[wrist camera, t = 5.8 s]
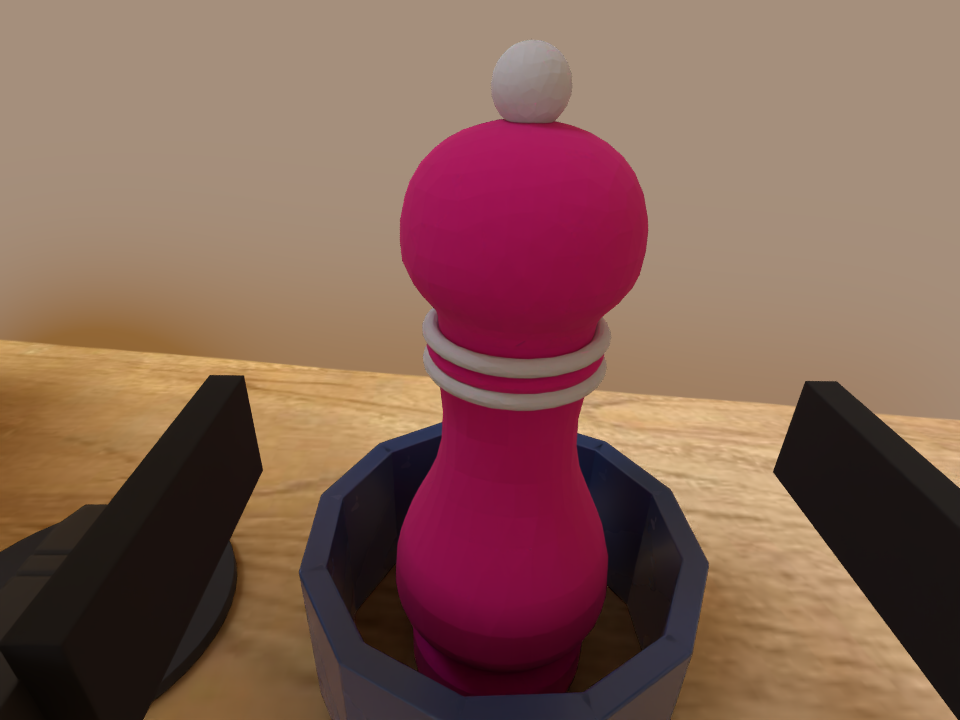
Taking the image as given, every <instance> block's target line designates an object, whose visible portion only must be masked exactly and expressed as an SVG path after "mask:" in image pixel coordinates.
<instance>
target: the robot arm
mask: <svg viewBox="0 0 960 720" xmlns="http://www.w3.org/2000/svg"><path fill="white" fill-rule="evenodd" d="M262 471H263V468H262V463H261V458H260V453H259V448H258V443H257V438H256V433H255V428H254V423H253V418H252V413H251V408H250V403H249V398H248V393H247V388H246V383H245V378H244V376H236V375H210V376H209V377H208V378H207V379H206V381H205V382H204V383H203V384H202V386H201V387H200V388H199V390H198V391H197V392H196V393H195V395H194V396H193V397H192V398H191V400H190V401H189V402H188V403H187V405H186V406H185V407H184V409H183V410H182V411H181V412H180V414H179V415H178V416H177V417H176V419H175V420H174V421H173V423H172V424H171V425H170V426H169V428H168V429H167V430H166V431H165V433H164V434H163V435H162V436H161V438H160V439H159V440H158V442H157V443H156V444H155V445H154V447H153V448H152V449H151V450H150V452H149V453H148V454H147V455H146V457H145V458H144V459H143V461H142V462H141V463H140V464H139V466H138V467H137V468H136V469H135V471H134V472H133V473H132V475H131V476H130V477H129V478H128V480H127V481H126V482H125V483H124V485H123V486H122V487H121V488H120V490H119V491H118V492H117V494H116V495H115V496H114V497H113V499H112V500H111V501H110V502H109V504H108V505H84V506H83V507H81V508H80V509H79V510H77V511H76V512H74V513H73V514H71V515H70V516H69V517H67V518H66V519H64V520H63V521H62V522H60V523H59V524H57V525H56V526H55V527H54V528H53V529H52V530H51V532H50V533H49V534H48V535H47V536H46V537H45V539H44V540H43V541H42V542H41V543H40V544H39V545H38V547H37V548H36V549H35V550H34V555H30V556H29V557H28V558H27V559H26V561H25V562H24V563H23V564H22V565H21V566H20V567H19V569H18V570H17V571H16V572H17V573H16V576H14V577H11V578H10V579H9V580H8V581H7V583H6V584H5V585H4V586H3V587H2V588H1V589H0V720H143V719H144V717H145V715H146V713H147V711H148V709H149V707H150V705H151V703H152V700H153V698H154V696H155V694H156V692H157V690H158V688H159V686H160V684H161V682H162V680H163V677H164V675H165V673H166V671H167V669H168V667H169V665H170V663H171V661H172V659H173V657H174V655H175V652H176V650H177V648H178V646H179V644H180V642H181V640H182V638H183V636H184V634H185V632H186V630H187V627H188V625H189V623H190V621H191V619H192V617H193V615H194V613H195V611H196V609H197V607H198V605H199V602H200V600H201V598H202V596H203V594H204V592H205V590H206V588H207V586H208V584H209V582H210V580H211V577H212V575H213V573H214V571H215V569H216V567H217V565H218V563H219V561H220V559H221V557H222V554H223V552H224V550H225V548H226V546H227V544H228V542H229V540H230V538H231V536H232V534H233V532H234V529H235V527H236V525H237V523H238V521H239V519H240V517H241V515H242V513H243V511H244V509H245V507H246V504H247V502H248V500H249V498H250V496H251V494H252V492H253V490H254V488H255V486H256V484H257V482H258V479H259V477H260V475H261V473H262ZM773 473H774V474H775V475H776V477H777V478H778V479H779V481H780V482H781V483H782V485H783V486H784V487H785V489H786V490H787V491H788V493H789V494H790V495H791V497H792V498H793V500H794V501H795V502H796V504H797V505H798V506H799V508H800V509H801V510H802V512H803V513H804V514H805V516H806V517H807V518H808V520H809V521H810V522H811V524H812V525H813V526H814V528H815V529H816V530H817V532H818V533H819V534H820V536H821V537H822V538H823V540H824V541H825V542H826V544H827V545H828V546H829V548H830V549H831V550H832V552H833V553H834V554H835V556H836V557H837V558H838V560H839V561H840V562H841V564H842V565H843V566H844V568H845V569H846V570H847V572H848V573H849V574H850V576H851V577H852V578H853V580H854V581H855V582H856V584H857V585H858V586H859V588H860V589H861V590H862V592H863V593H864V595H865V596H866V597H867V599H868V600H869V601H870V603H871V604H872V605H873V607H874V608H875V609H876V611H877V612H878V613H879V615H880V616H881V617H882V619H883V620H884V621H885V623H886V624H887V625H888V627H889V628H890V629H891V631H892V632H893V633H894V635H895V636H896V637H897V639H898V640H899V641H900V643H901V644H902V645H903V647H904V648H905V649H906V651H907V652H908V653H909V655H910V656H911V657H912V659H913V660H914V661H915V663H916V664H917V665H918V667H919V668H920V669H921V671H922V672H923V673H924V675H925V676H926V677H927V679H928V680H929V681H930V683H931V684H932V685H933V687H934V688H935V690H936V691H937V692H938V694H939V695H940V696H941V698H942V699H943V700H944V702H945V703H946V704H947V706H948V707H949V708H950V710H951V711H952V712H953V714H954V715H955V716H956V718H957V719H958V720H960V488H959V487H958V486H956V485H955V484H954V483H953V482H952V481H951V480H950V479H948V478H947V477H946V476H945V475H944V474H943V473H942V472H940V471H939V470H938V469H937V468H936V467H935V466H933V465H932V464H931V463H930V462H929V461H928V460H927V459H925V458H924V457H923V456H922V455H921V454H920V453H918V452H917V451H916V450H915V449H914V448H913V447H912V446H910V445H909V444H908V443H907V442H906V441H905V440H904V439H902V438H901V437H900V436H899V435H898V434H897V433H895V432H894V431H893V430H892V429H891V428H890V427H889V426H887V425H886V424H885V423H884V422H883V421H882V420H881V419H879V418H878V417H877V416H876V415H875V414H874V413H872V412H871V411H870V410H869V409H868V408H867V407H866V406H864V405H863V404H862V403H861V402H860V401H859V400H857V399H856V398H855V397H854V396H853V395H852V394H851V393H849V392H848V391H847V390H846V389H845V388H844V387H843V386H841V385H840V384H839V383H838V382H836V381H835V382H834V381H805V384H804V387H803V389H802V392H801V395H800V398H799V400H798V403H797V406H796V409H795V412H794V414H793V417H792V420H791V423H790V426H789V428H788V431H787V434H786V437H785V440H784V442H783V445H782V448H781V451H780V454H779V456H778V459H777V462H776V465H775V468H774V471H773Z"/></svg>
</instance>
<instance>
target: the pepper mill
mask: <svg viewBox="0 0 960 720" xmlns="http://www.w3.org/2000/svg"><path fill="white" fill-rule="evenodd" d="M491 88H492V89H491V90H492V98H493V101H494V104H495V107H496V108H497V110H498V112H499V113H500V115H501V116H502V117H503V118H504V119H499V120H495V121H490V122H486V123H482V124H479V125H476V126H473V127H469V128H467V129H463V130H461V131H460V132H457V133H456V134H454V135H452V136H450V137H448V138H447V139H445V140H444V141H443V142H441V143H440V144H439V145H437V146H436V147H435V148H434V149H433V150H432V151H431V152H430V153H429V154H428V155H427V156H426V157H425V158H424V159H423V161H421V163H420V164H419V166H418V168H417V170H416V171H415V173H414V175H413V176H412V178H411V180H410V182H409V185H408V188H407V191H406V194H405V198H404V203H403V208H402V213H401V218H400V246H401V254H402V261H403V263H404V265H405V267H406V269H407V271H408V274H409V276H410V278H411V280H412V282H413V284H414V285H415V286H416V288H417V289H418V291H419V292H420V293H421V295H422V296H423V297H424V298H425V299H426V300H427V301H428V302H429V303H430V304H431V306H433V308H432V309H431V310H430V311H429V312H428V314H427V315H426V317H425V319H424V322H423V335H424V338H425V340H426V342H427V345H426V347H425V351H424V354H423V360H424V366H425V370H426V372H427V373H428V374H429V376H430V377H431V378H432V380H433V381H434V382H435V383H436V384H437V385H438V386H439V387H440V390H441V398H442V407H443V421H442V439H441V442H440V446H439V450H438V454H437V457H436V459H435V461H434V463H433V465H432V467H431V469H430V471H429V472H428V474H427V476H426V477H425V479H424V480H423V482H422V484H421V485H420V487H419V489H418V491H417V492H416V494H415V496H414V498H413V500H412V502H411V505H410V507H409V509H408V512H407V514H406V517H405V519H404V522H403V525H402V528H401V531H400V536H399V540H398V544H397V559H396V584H397V589H398V594H399V598H400V601H401V604H402V607H403V609H404V611H405V613H406V615H407V617H408V619H409V621H410V622H411V624H412V625H413V641H414V655H415V660H416V665H417V668H418V671H419V672H420V673H421V674H423V675H425V676H427V677H429V678H431V679H433V680H434V681H436V682H438V683H440V684H442V685H444V686H445V687H447V688H449V689H451V690H453V691H455V692H457V693H458V694H460V695H462V696H486V695H515V694H545V693H566V692H567V690H568V688H569V686H570V685H571V683H572V681H573V678H574V676H575V673H576V670H577V666H578V661H579V656H580V650H581V644H582V641H583V640H584V638H585V637H586V636H587V635H588V633H589V632H590V631H591V630H592V629H593V627H594V626H595V624H596V621H597V619H598V617H599V615H600V613H601V611H602V607H603V604H604V601H605V598H606V587H607V571H608V553H607V548H606V542H605V537H604V532H603V526H602V523H601V520H600V517H599V514H598V512H597V509H596V506H595V504H594V502H593V499H592V497H591V494H590V492H589V489H588V487H587V484H586V482H585V480H584V477H583V475H582V472H581V469H580V466H579V460H578V453H577V446H576V445H577V430H578V418H579V414H580V411H581V407H582V403H583V400H584V397H585V396H587V395H589V394H590V393H591V392H592V391H594V390H595V389H596V388H597V387H598V386H599V384H600V383H601V382H602V380H603V378H604V376H605V373H606V361H605V358H604V353H605V352H606V350H607V349H608V347H609V344H610V340H611V332H610V330H609V327H608V325H607V322H606V321H605V320H604V319H603V316H604V315H605V314H606V313H607V312H609V311H610V310H611V309H612V308H614V307H615V306H616V305H617V304H619V302H620V301H621V300H622V299H623V298H624V297H625V296H626V295H627V293H628V292H629V291H630V290H631V289H632V288H633V286H634V284H635V282H636V280H637V279H638V276H639V275H640V271H641V267H642V264H643V260H644V256H645V252H646V245H647V237H648V217H647V211H646V206H645V199H644V194H643V191H642V189H641V187H640V184H639V182H638V179H637V177H636V174H635V172H634V171H633V170H632V168H631V167H630V165H629V164H628V163H627V161H626V160H625V159H624V157H623V156H622V155H621V154H620V153H618V152H617V151H616V150H615V149H614V148H613V147H612V146H611V145H609V144H608V143H607V142H605V141H604V140H602V139H600V138H599V137H597V136H595V135H594V134H592V133H590V132H588V131H585V130H582V129H580V128H577V127H575V126H572V125H568V124H564V123H560V122H555V120H556V119H557V118H558V117H559V116H560V114H561V113H562V112H563V111H564V109H565V108H566V106H567V104H568V101H569V99H570V96H571V92H572V76H571V71H570V68H569V65H568V62H567V61H566V59H565V58H564V56H563V55H562V53H561V52H560V51H559V50H558V49H557V48H555V47H554V46H553V45H551V44H550V43H547V42H544V41H540V40H526V41H522V42H519V43H517V44H515V45H513V46H512V47H510V48H509V49H508V50H507V51H505V53H504V54H503V55H502V56H501V58H500V59H499V60H498V62H497V64H496V67H495V69H494V71H493V76H492V82H491Z"/></svg>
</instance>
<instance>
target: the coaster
mask: <svg viewBox="0 0 960 720" xmlns="http://www.w3.org/2000/svg"><path fill="white" fill-rule="evenodd" d="M57 524H59V523H57ZM57 524H55V525H52V526H50V527H48V528H46V529H43V530H41V531H39V532H37V533H35V534H33V535H31V536H29V537H27V538H25V539H23V540H21V541H19V542H17V543H15V544H14V545H12V546H10V547H8V548H7V549H5V550H3V551H2V552H0V589H1V588H2V587H3V586H4V585H5V584H6V583H7V581H8V580H9V579H10V578H11V577H14V576H16V573H17V572H16V571H17V570H18V569H19V567H20V566H21V565H22V564H23V563H24V562H25V561H26V559H27V558H28V557H29V556H30V555H34V550H35V549H36V548H37V547H38V545H39V544H40V543H41V542H42V541H43V540H44V539H45V537H46V536H47V535H48V534H49V533H50V532H51V530H52V529H53V528H54V527H55V526H56V525H57ZM236 580H237V567H236V560H235V557H234V553H233V549H232V545H231V543H230V541H229V542H228V544H227V546H226V548H225V550H224V552H223V554H222V557H221V559H220V561H219V563H218V565H217V567H216V569H215V571H214V573H213V575H212V577H211V580H210V582H209V584H208V586H207V588H206V590H205V592H204V594H203V596H202V598H201V600H200V602H199V605H198V607H197V609H196V611H195V613H194V615H193V617H192V619H191V621H190V623H189V625H188V627H187V630H186V632H185V634H184V636H183V638H182V640H181V642H180V644H179V646H178V648H177V650H176V652H175V655H174V657H173V659H172V661H171V663H170V665H169V667H168V669H167V671H166V673H165V675H164V677H163V680H162V682H161V684H160V686H159V688H158V690H157V692H156V694H155V696H154V698H153V700H152V701H154V700H155V699H156V698H157V697H159V696H160V695H161V694H163V693H164V692H165V691H166V690H167V689H169V688H170V687H171V686H172V685H173V684H174V683H175V682H176V681H177V680H178V679H179V678H180V677H181V676H183V675H184V674H185V673H186V672H187V671H188V669H189V668H190V667H191V666H192V665H193V664H194V663H195V662H196V661H197V659H198V658H199V657H200V656H201V655H202V654H203V652H204V651H205V650H206V648H207V647H208V645H209V644H210V643H211V641H212V640H213V639H214V637H215V636H216V634H217V632H218V630H219V629H220V627H221V625H222V624H223V622H224V620H225V618H226V615H227V613H228V611H229V609H230V606H231V603H232V600H233V596H234V593H235V589H236Z"/></svg>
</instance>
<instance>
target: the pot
mask: <svg viewBox="0 0 960 720" xmlns="http://www.w3.org/2000/svg"><path fill="white" fill-rule="evenodd" d="M441 439H442V422H441V423H439V424H436V425H433V426H430V427H427V428H424V429H421V430H418V431H415V432H412V433H409V434H406V435H403V436H400V437H397V438H394V439H391V440H388V441H385V442H382V443H379V444H378V445H377V446H376V447H375V448H373V449H372V450H371V451H370V452H369V453H368V454H367V455H366V456H364V457H363V458H362V459H361V460H360V461H359V462H358V463H357V464H355V465H354V466H353V467H352V468H351V469H350V470H349V471H348V472H346V473H345V474H344V475H343V476H342V477H341V478H340V479H339V480H337V481H336V482H335V483H334V484H333V485H332V486H331V487H330V488H328V489H327V490H326V491H325V492H324V493H323V494H322V495H321V497H320V501H319V504H318V508H317V511H316V514H315V518H314V521H313V525H312V528H311V532H310V535H309V539H308V542H307V546H306V549H305V552H304V556H303V559H302V563H301V566H300V570H299V576H300V581H301V587H302V592H303V598H304V603H305V609H306V614H307V620H308V625H309V631H310V636H311V642H312V647H313V653H314V658H315V664H316V669H317V675H318V680H319V686H320V691H321V694H322V697H323V699H324V702H325V704H326V707H327V709H328V712H329V714H330V717H331V720H670V719H671V716H672V713H673V710H674V707H675V704H676V701H677V699H678V696H679V693H680V690H681V687H682V684H683V681H684V678H685V675H686V672H687V669H688V666H689V663H690V660H691V657H692V654H693V649H694V643H695V638H696V633H697V628H698V622H699V617H700V612H701V606H702V601H703V596H704V590H705V585H706V580H707V574H708V569H709V563H708V561H707V559H706V557H705V555H704V553H703V551H702V549H701V547H700V545H699V543H698V541H697V539H696V537H695V535H694V534H693V532H692V530H691V528H690V526H689V524H688V522H687V520H686V518H685V516H684V514H683V512H682V510H681V508H680V506H679V504H678V502H677V500H676V498H675V497H674V495H673V493H672V491H671V490H670V489H669V488H668V487H667V486H665V485H664V484H662V483H661V482H660V481H658V480H657V479H656V478H654V477H653V476H652V475H650V474H649V473H648V472H646V471H645V470H644V469H642V468H641V467H639V466H638V465H637V464H635V463H634V462H633V461H631V460H630V459H629V458H627V457H626V456H625V455H623V454H622V453H620V452H619V451H618V450H616V449H615V448H614V447H612V446H611V445H610V444H608V443H607V442H605V441H602V440H598V439H595V438H592V437H588V436H585V435H582V434H579V433H577V445H576V446H577V453H578V460H579V466H580V469H581V472H582V475H583V477H584V480H585V482H586V484H587V487H588V489H589V492H590V494H591V497H592V499H593V502H594V504H595V506H596V509H597V512H598V514H599V517H600V520H601V523H602V526H603V532H604V537H605V542H606V548H607V553H608V571H607V585H608V586H609V587H610V588H611V589H612V590H613V591H614V592H615V593H616V594H617V595H618V596H619V597H620V598H621V599H622V600H623V601H624V602H625V603H626V604H627V606H628V609H629V612H630V615H631V618H632V621H633V625H634V628H635V631H636V634H637V637H638V640H639V643H640V646H641V649H642V651H641V652H639V653H638V654H636V655H635V656H634V657H632V658H631V659H629V660H628V661H627V662H625V663H624V664H622V665H621V666H619V667H618V668H617V669H615V670H614V671H612V672H611V673H610V674H608V675H607V676H605V677H604V678H602V679H601V680H600V681H598V682H597V683H595V684H594V685H593V686H591V687H590V688H588V689H587V690H585V691H584V692H575V693H545V694H515V695H486V696H462V695H460V694H458V693H457V692H455V691H453V690H451V689H449V688H447V687H445V686H444V685H442V684H440V683H438V682H436V681H434V680H433V679H431V678H429V677H427V676H425V675H423V674H421V673H420V672H418V671H416V670H414V669H412V668H410V667H408V666H407V665H405V664H403V663H401V662H399V661H397V660H395V659H394V658H392V657H390V656H388V655H386V654H384V653H382V652H381V651H379V650H377V649H375V648H373V647H371V646H369V645H368V644H366V643H364V641H363V639H362V637H361V635H360V633H359V631H358V629H357V627H356V625H355V623H354V621H355V615H356V611H357V609H358V608H359V607H360V606H361V604H362V603H363V602H364V601H365V600H366V598H367V597H368V596H369V595H370V594H371V592H372V591H373V590H374V589H375V587H376V586H377V585H378V584H379V583H380V581H381V580H382V579H383V578H384V576H385V575H386V574H387V573H388V572H389V570H390V569H391V568H392V567H393V566H394V564H395V563H396V559H397V544H398V540H399V536H400V531H401V528H402V525H403V522H404V519H405V517H406V514H407V512H408V509H409V507H410V505H411V502H412V500H413V498H414V496H415V494H416V492H417V491H418V489H419V487H420V485H421V484H422V482H423V480H424V479H425V477H426V476H427V474H428V472H429V471H430V469H431V467H432V465H433V463H434V461H435V459H436V457H437V454H438V450H439V446H440V442H441Z"/></svg>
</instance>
